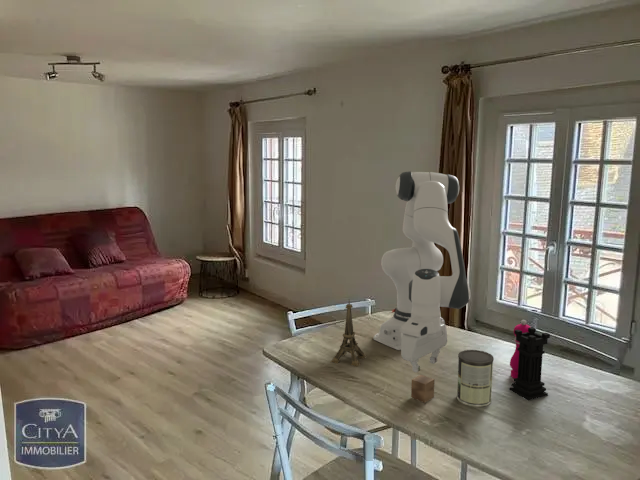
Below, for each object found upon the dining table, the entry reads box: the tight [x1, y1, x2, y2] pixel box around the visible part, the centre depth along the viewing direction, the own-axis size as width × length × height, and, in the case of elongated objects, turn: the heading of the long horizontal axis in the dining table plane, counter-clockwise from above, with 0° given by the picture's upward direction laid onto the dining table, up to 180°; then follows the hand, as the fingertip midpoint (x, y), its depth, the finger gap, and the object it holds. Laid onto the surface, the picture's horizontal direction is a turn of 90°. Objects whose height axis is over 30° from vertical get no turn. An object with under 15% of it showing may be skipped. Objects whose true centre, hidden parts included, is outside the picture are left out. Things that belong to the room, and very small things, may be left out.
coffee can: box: [456, 349, 495, 408], centre depth 159 cm, size 10×10×14 cm
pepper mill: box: [509, 319, 531, 380], centre depth 175 cm, size 7×7×20 cm
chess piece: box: [508, 326, 551, 402], centre depth 163 cm, size 8×8×20 cm
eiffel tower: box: [330, 300, 368, 367], centre depth 190 cm, size 11×11×25 cm
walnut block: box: [410, 374, 435, 404], centre depth 161 cm, size 5×5×6 cm
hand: (424, 366), depth 160 cm, fingers open, 8 cm apart
